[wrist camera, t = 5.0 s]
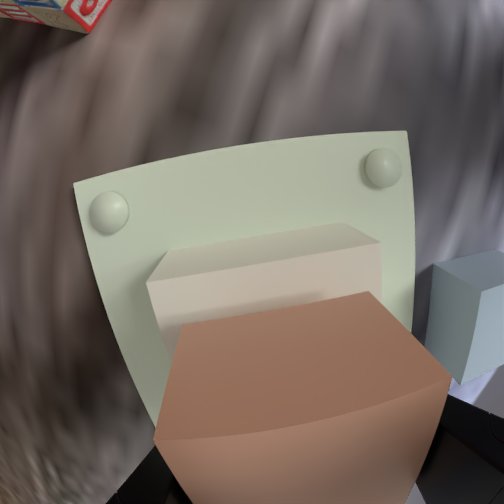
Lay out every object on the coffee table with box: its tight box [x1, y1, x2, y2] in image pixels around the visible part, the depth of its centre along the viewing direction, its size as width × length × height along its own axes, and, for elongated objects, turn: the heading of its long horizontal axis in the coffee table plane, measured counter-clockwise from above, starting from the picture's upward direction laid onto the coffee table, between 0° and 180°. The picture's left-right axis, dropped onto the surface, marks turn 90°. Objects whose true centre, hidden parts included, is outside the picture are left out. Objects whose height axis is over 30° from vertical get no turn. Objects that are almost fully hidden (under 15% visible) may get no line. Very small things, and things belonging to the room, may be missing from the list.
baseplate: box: [73, 131, 415, 427], centre depth 13 cm, size 14×14×1 cm
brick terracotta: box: [153, 291, 452, 504], centre depth 7 cm, size 5×5×4 cm
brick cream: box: [146, 222, 382, 365], centre depth 11 cm, size 7×7×4 cm
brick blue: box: [424, 249, 504, 385], centre depth 13 cm, size 5×5×4 cm
